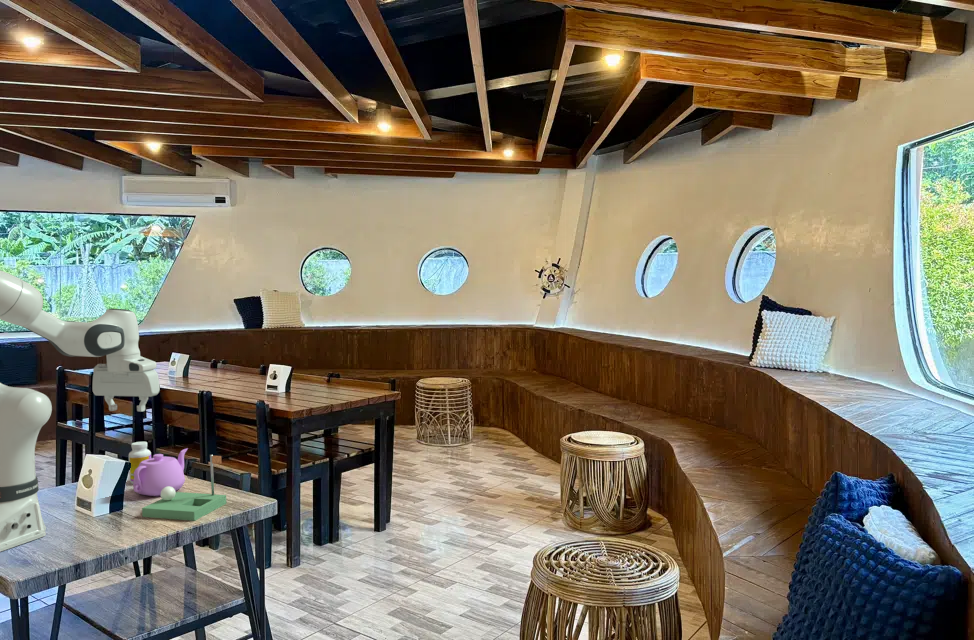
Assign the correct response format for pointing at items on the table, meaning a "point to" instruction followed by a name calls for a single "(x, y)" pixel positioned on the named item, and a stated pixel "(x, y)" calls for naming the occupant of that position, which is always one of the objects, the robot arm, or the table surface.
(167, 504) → the mat
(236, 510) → the table surface
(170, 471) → the teapot
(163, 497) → the ball
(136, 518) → the table surface
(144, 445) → the supplement bottle
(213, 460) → the flag pin
